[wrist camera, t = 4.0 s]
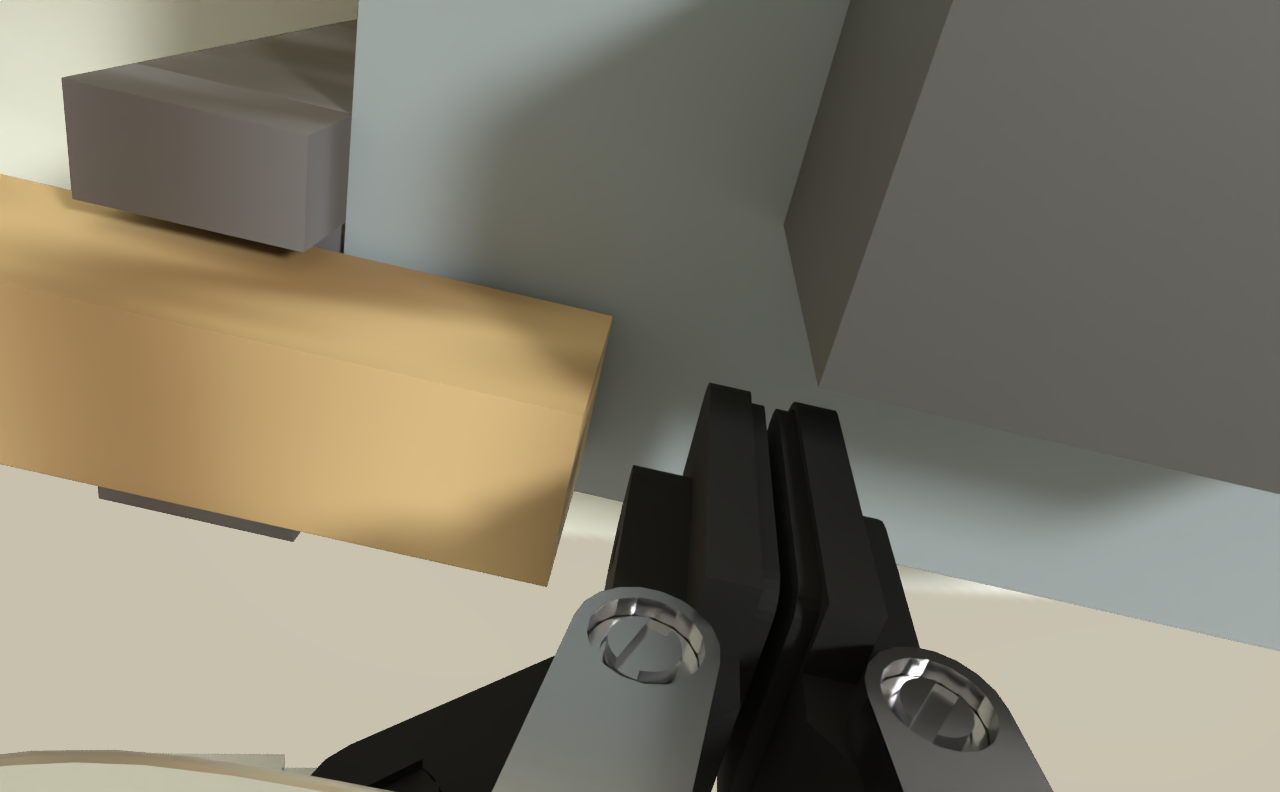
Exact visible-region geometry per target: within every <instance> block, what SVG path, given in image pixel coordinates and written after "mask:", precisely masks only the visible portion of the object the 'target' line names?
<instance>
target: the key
mask: <svg viewBox="0 0 1280 792" xmlns="http://www.w3.org/2000/svg"><path fill="white" fill-rule="evenodd" d="M612 318H613V316H610V315H606V314H601V313H597V312H593V311H588V310H584V309H580V308H575V307H571V306H567V305H562V304H558V303H554V302H550V301H545V300H541V299H537V298H532V297H528V296H524V295H519V294H515V293H511V292H506V291H502V290H498V289H494V288H489V287H485V286H481V285H476V284H472V283H468V282H463V281H459V280H455V279H450V278H446V277H442V276H437V275H433V274H429V273H425V272H420V271H416V270H412V269H407V268H403V267H399V266H394V265H390V264H386V263H381V262H377V261H373V260H369V259H364V258H360V257H356V256H351V255H347V254H343V253H338V252H334V251H330V250H325V249H321V248H317V247H313V246H312V247H311V248H310V249H308V250H307V251H306V252H304V253H303V252H299V251H295V250H290V249H286V248H282V247H277V246H273V245H269V244H264V243H260V242H256V241H251V240H247V239H243V238H239V237H234V236H230V235H226V234H221V233H217V232H213V231H208V230H204V229H200V228H195V227H191V226H187V225H182V224H178V223H174V222H170V221H165V220H161V219H157V218H152V217H148V216H144V215H139V214H135V213H131V212H126V211H122V210H118V209H113V208H109V207H105V206H101V205H96V204H92V203H88V202H83V201H79V200H75V199H72V191H71V190H67V189H63V188H58V187H54V186H50V185H45V184H41V183H37V182H32V181H28V180H24V179H20V178H15V177H11V176H7V175H2V174H0V464H2V465H7V466H11V467H16V468H20V469H25V470H29V471H33V472H38V473H42V474H47V475H51V476H56V477H60V478H65V479H69V480H73V481H78V482H82V483H87V484H91V485H96V486H100V487H105V488H109V489H114V490H118V491H122V492H127V493H131V494H136V495H140V496H145V497H149V498H154V499H158V500H162V501H167V502H171V503H176V504H180V505H185V506H189V507H194V508H198V509H202V510H207V511H211V512H216V513H220V514H225V515H229V516H234V517H238V518H242V519H247V520H251V521H256V522H260V523H265V524H269V525H274V526H278V527H283V528H287V529H291V530H296V531H300V532H305V533H309V534H314V535H318V536H323V537H328V538H332V539H336V540H340V541H345V542H349V543H354V544H358V545H363V546H367V547H371V548H376V549H381V550H385V551H389V552H394V553H398V554H403V555H407V556H411V557H416V558H420V559H425V560H430V561H434V562H439V563H443V564H448V565H452V566H456V567H460V568H465V569H470V570H474V571H478V572H483V573H487V574H492V575H497V576H501V577H505V578H509V579H514V580H518V581H523V582H527V583H532V584H536V585H540V586H545V587H547V585H548V581H549V577H550V574H551V570H552V567H553V563H554V560H555V556H556V552H557V548H558V545H559V541H560V538H561V534H562V531H563V527H564V523H565V520H566V516H567V512H568V509H569V505H570V502H571V498H572V494H573V491H574V487H575V483H576V480H577V476H578V473H579V469H580V465H581V462H582V457H583V452H584V448H585V443H586V438H587V434H588V429H589V424H590V420H591V415H592V410H593V406H594V401H595V397H596V392H597V387H598V383H599V378H600V373H601V369H602V364H603V359H604V355H605V350H606V345H607V341H608V336H609V332H610V327H611V322H612Z"/></svg>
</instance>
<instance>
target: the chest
mask: <svg viewBox="0 0 1280 792" xmlns="http://www.w3.org/2000/svg"><path fill="white" fill-rule="evenodd" d="M357 20H358V19H356V20H351V21H346V22H341V23H336V24H330V25H325V26H320V27H315V28H310V29H305V30H300V31H295V32H290V33H285V34H280V35H275V36H270V37H265V38H260V39H255V40H250V41H245V42H240V43H235V44H229V45H224V46H219V47H214V48H209V49H204V50H199V51H194V52H189V53H184V54H179V55H174V56H169V57H164V58H159V59H154V60H149V61H144V62H139V63H133V64H128V65H123V66H118V67H113V68H108V69H103V70H98V71H93V72H88V73H83V74H78V75H73V76H68V77H63V78H62V88H63V99H64V110H65V122H66V133H67V144H68V155H69V167H70V178H71V189H72V199H75V200H79V201H83V202H88V203H92V204H96V205H101V206H105V207H109V208H113V209H118V210H122V211H126V212H131V213H135V214H139V215H144V216H148V217H152V218H157V219H161V220H165V221H170V222H174V223H178V224H182V225H187V226H191V227H195V228H200V229H204V230H208V231H213V232H217V233H221V234H226V235H230V236H234V237H239V238H243V239H247V240H251V241H256V242H260V243H264V244H269V245H273V246H277V247H282V248H286V249H290V250H295V251H299V252H303V253H304V252H306V251H307V250H308V249H310V248H311V247H312V246H313V247H317V248H321V249H325V250H330V251H334V252H338V253H343V254H344V241H345V224H346V207H347V190H348V173H349V156H350V139H351V122H352V105H353V88H354V71H355V54H356V37H357ZM98 493H99V498H100V499H105V500H109V501H113V502H118V503H123V504H127V505H132V506H136V507H140V508H145V509H149V510H154V511H158V512H162V513H167V514H171V515H176V516H180V517H185V518H189V519H194V520H198V521H203V522H207V523H211V524H216V525H220V526H225V527H229V528H234V529H238V530H243V531H247V532H252V533H256V534H260V535H265V536H269V537H274V538H278V539H283V540H287V541H292V542H293V541H294V540H295V539H296V537H297V536H298V535H299V533H300V531H296V530H291V529H287V528H283V527H278V526H274V525H269V524H265V523H260V522H256V521H251V520H247V519H242V518H238V517H234V516H229V515H225V514H220V513H216V512H211V511H207V510H202V509H198V508H194V507H189V506H185V505H180V504H176V503H171V502H167V501H162V500H158V499H154V498H149V497H145V496H140V495H136V494H131V493H127V492H122V491H118V490H114V489H109V488H105V487H100V486H98Z"/></svg>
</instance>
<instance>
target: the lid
mask: <svg viewBox="0 0 1280 792" xmlns="http://www.w3.org/2000/svg"><path fill="white" fill-rule="evenodd" d="M344 254H347V255H351V256H356V257H360V258H364V259H369V260H373V261H377V262H381V263H386V264H390V265H394V266H399V267H403V268H407V269H412V270H416V271H420V272H425V273H429V274H433V275H437V276H442V277H446V278H450V279H455V280H459V281H463V282H468V283H472V284H476V285H481V286H485V287H489V288H494V289H498V290H502V291H506V292H511V293H515V294H519V295H524V296H528V297H532V298H537V299H541V300H545V301H550V302H554V303H558V304H562V305H567V306H571V307H575V308H580V309H584V310H588V311H593V312H597V313H601V314H606V315H610V316H613V318H612V322H611V327H610V332H609V336H608V341H607V345H606V350H605V355H604V359H603V364H602V369H601V373H600V378H599V383H598V387H597V392H596V397H595V401H594V406H593V410H592V415H591V420H590V424H589V429H588V434H587V438H586V443H585V448H584V452H583V457H582V462H581V465H580V469H579V473H578V476H577V480H576V483H575V487H574V491H577V492H582V493H586V494H591V495H595V496H599V497H604V498H608V499H613V500H617V501H621V502H624V498H625V494H626V489H627V485H628V481H629V477H630V473H631V470H632V466H633V465H637V466H641V467H646V468H650V469H655V470H659V471H664V472H668V473H673V474H677V475H682V476H683V472H684V468H685V465H686V461H687V457H688V454H689V450H690V446H691V443H692V439H693V435H694V432H695V428H696V424H697V420H698V417H699V413H700V409H701V406H702V402H703V399H704V395H705V392H706V389H707V386H708V384H709V383H715V384H719V385H724V386H728V387H732V388H737V389H741V390H746V391H750V392H751V398H752V403H754V404H758V405H763V406H764V407H765V415H766V426H767V429H768V426H769V423H770V420H771V417H772V415H773V412H774V411H775V409H780V410H785V411H788V410H789V408H790V406H791V404H792V403H793V402H799V403H804V404H808V405H813V406H817V407H822V408H826V409H831V410H835V411H836V412H837V414H838V417H839V421H840V425H841V429H842V433H843V437H844V441H845V445H846V449H847V453H848V457H849V462H850V466H851V470H852V474H853V478H854V482H855V486H856V490H857V494H858V498H859V502H860V506H861V510H862V514H863V516H866V517H871V518H875V519H879V520H881V521H883V523H884V525H885V527H886V530H887V533H888V537H889V540H890V544H891V548H892V551H893V555H894V558H895V562H896V564H898V565H903V566H907V567H912V568H916V569H920V570H925V571H929V572H934V573H938V574H942V575H947V576H951V577H956V578H960V579H964V580H969V581H973V582H978V583H982V584H986V585H991V586H995V587H1000V588H1004V589H1008V590H1013V591H1017V592H1022V593H1026V594H1030V595H1035V596H1039V597H1044V598H1048V599H1052V600H1057V601H1061V602H1066V603H1070V604H1074V605H1079V606H1083V607H1088V608H1092V609H1096V610H1101V611H1105V612H1110V613H1114V614H1119V615H1123V616H1127V617H1132V618H1136V619H1140V620H1145V621H1149V622H1154V623H1158V624H1163V625H1167V626H1171V627H1176V628H1180V629H1184V630H1189V631H1193V632H1197V633H1202V634H1206V635H1211V636H1215V637H1220V638H1224V639H1228V640H1233V641H1237V642H1242V643H1246V644H1251V645H1255V646H1259V647H1264V648H1268V649H1272V650H1277V651H1280V0H359V3H358V20H357V37H356V54H355V71H354V88H353V105H352V122H351V139H350V156H349V173H348V190H347V207H346V224H345V241H344Z"/></svg>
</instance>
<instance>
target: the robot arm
mask: <svg viewBox="0 0 1280 792" xmlns="http://www.w3.org/2000/svg"><path fill="white" fill-rule="evenodd" d="M716 777H717V792H1053V790H1052V788H1051V786H1050V785H1049V783H1048V781H1047V779H1046V777H1045V775H1044V774H1043V772H1042V770H1041V768H1040V766H1039V764H1038V762H1037V761H1036V759H1035V757H1034V755H1033V753H1032V751H1031V750H1030V748H1029V746H1028V744H1027V742H1026V741H1025V738H1024V737H1023V735H1022V733H1021V731H1020V729H1019V727H1018V726H1017V724H1016V722H1015V720H1014V718H1013V716H1012V715H1011V713H1010V711H1009V709H1008V708H1007V706H1006V705H1005V704H1004V702H1003V701H1002V699H1001V698H1000V697H999V695H998V694H997V692H996V691H995V690H994V689H993V688H992V687H991V686H990V685H988V684H987V683H986V682H985V681H984V680H983V679H982V678H981V677H980V676H979V675H977V674H976V673H975V672H973V671H971V670H970V669H968V668H967V667H965V666H964V665H962V664H961V663H959V662H957V661H955V660H953V659H951V658H948V657H946V656H944V655H941V654H939V653H937V652H934V651H930V650H925V649H921V648H920V647H919V643H918V640H917V636H916V633H915V630H914V626H913V622H912V619H911V615H910V612H909V608H908V604H907V601H906V597H905V594H904V590H903V587H902V583H901V580H900V576H899V572H898V569H897V565H896V562H895V558H894V555H893V551H892V548H891V544H890V540H889V537H888V533H887V530H886V527H885V525H884V523H883V521H881V520H879V519H875V518H871V517H866V516H863V514H862V510H861V506H860V502H859V498H858V494H857V490H856V486H855V482H854V478H853V474H852V470H851V466H850V462H849V457H848V453H847V449H846V445H845V441H844V437H843V433H842V429H841V425H840V421H839V417H838V414H837V412H836V411H835V410H831V409H826V408H822V407H817V406H813V405H808V404H804V403H799V402H793V403H792V404H791V406H790V408H789V410H788V411H785V410H780V409H775V411H774V412H773V415H772V417H771V420H770V423H769V426H768V429H767V426H766V415H765V407H764V406H763V405H758V404H754V403H752V398H751V392H750V391H746V390H741V389H737V388H732V387H728V386H724V385H719V384H715V383H709V384H708V386H707V389H706V392H705V395H704V399H703V402H702V406H701V409H700V413H699V417H698V420H697V424H696V428H695V432H694V435H693V439H692V443H691V446H690V450H689V454H688V457H687V461H686V465H685V468H684V472H683V476H682V475H677V474H673V473H668V472H664V471H659V470H655V469H650V468H646V467H641V466H637V465H633V466H632V470H631V473H630V477H629V481H628V485H627V489H626V494H625V498H624V502H623V506H622V510H621V514H620V519H619V523H618V527H617V532H616V536H615V541H614V545H613V550H612V555H611V560H610V564H609V569H608V575H607V579H606V586H605V590H604V591H601V592H599V593H597V594H595V595H594V596H592V597H591V598H589V599H587V600H586V601H584V602H583V604H582V605H581V606H580V608H579V609H578V610H577V611H576V613H575V614H574V616H573V618H572V620H571V622H570V625H569V627H568V629H567V631H566V633H565V635H564V637H563V640H562V642H561V644H560V646H559V648H558V650H557V653H556V655H555V656H553V657H551V658H548V659H546V660H544V661H541V662H539V663H537V664H534V665H532V666H530V667H528V668H525V669H523V670H521V671H518V672H516V673H514V674H511V675H509V676H507V677H505V678H502V679H500V680H498V681H495V682H493V683H491V684H489V685H486V686H485V687H482V688H479V689H477V690H475V691H472V692H470V693H468V694H466V695H463V696H461V697H459V698H457V699H454V700H452V701H450V702H447V703H445V704H443V705H440V706H438V707H436V708H433V709H431V710H429V711H427V712H424V713H422V714H420V715H417V716H415V717H413V718H410V719H408V720H406V721H404V722H401V723H399V724H397V725H394V726H392V727H390V728H387V729H386V730H383V731H381V732H378V733H376V734H374V735H371V736H369V737H367V738H365V739H362V740H360V741H358V742H356V743H353V744H351V745H349V746H347V747H346V748H344V749H342V750H340V751H339V752H337V753H336V754H334V755H332V756H330V757H329V758H327V759H326V760H325V761H324V762H323V763H322V764H321V765H320V766H319V767H318V768H285V755H284V754H281V755H280V754H172V753H171V754H169V753H168V754H167V753H166V754H165V753H162V754H161V753H159V754H158V753H145V752H133V751H120V750H74V751H73V750H66V751H26V752H17V753H9V754H0V792H711V790H712V788H713V785H714V782H715V779H716Z"/></svg>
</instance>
